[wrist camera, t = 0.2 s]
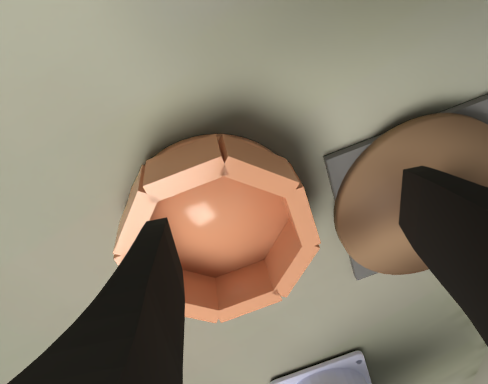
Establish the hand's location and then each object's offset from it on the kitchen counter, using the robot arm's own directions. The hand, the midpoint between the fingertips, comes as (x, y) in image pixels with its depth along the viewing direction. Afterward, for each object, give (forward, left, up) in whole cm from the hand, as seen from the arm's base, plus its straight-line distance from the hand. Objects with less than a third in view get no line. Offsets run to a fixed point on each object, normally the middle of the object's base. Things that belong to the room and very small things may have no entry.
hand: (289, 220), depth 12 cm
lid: (-9, -9, -9) cm, 16 cm away
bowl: (-5, +3, -10) cm, 12 cm away
